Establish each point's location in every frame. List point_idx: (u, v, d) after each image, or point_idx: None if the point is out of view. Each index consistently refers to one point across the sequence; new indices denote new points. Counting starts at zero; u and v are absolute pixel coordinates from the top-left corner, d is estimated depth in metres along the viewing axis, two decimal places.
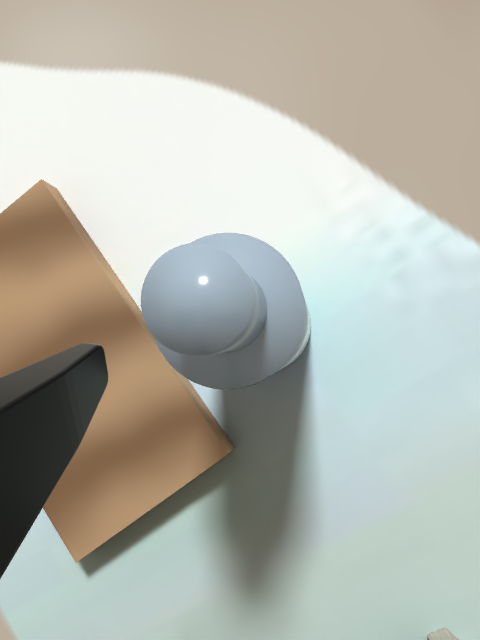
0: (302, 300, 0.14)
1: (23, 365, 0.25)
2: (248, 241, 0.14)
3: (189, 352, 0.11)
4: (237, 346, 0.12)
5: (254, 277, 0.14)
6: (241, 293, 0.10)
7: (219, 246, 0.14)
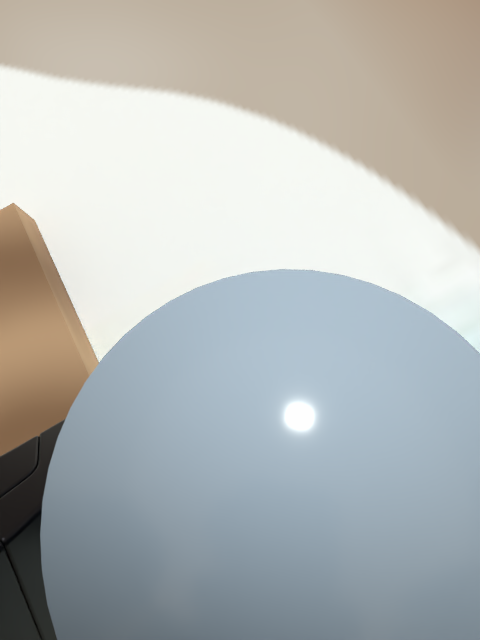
0: None
1: None
2: None
3: None
4: None
5: None
6: None
7: None
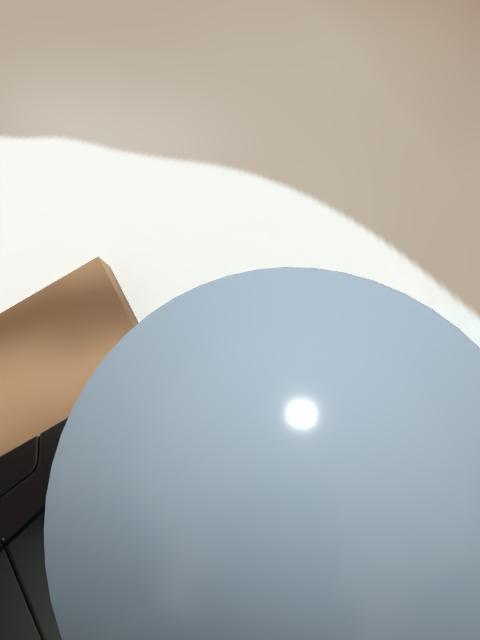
0: None
1: None
2: None
3: None
4: None
5: None
6: None
7: None
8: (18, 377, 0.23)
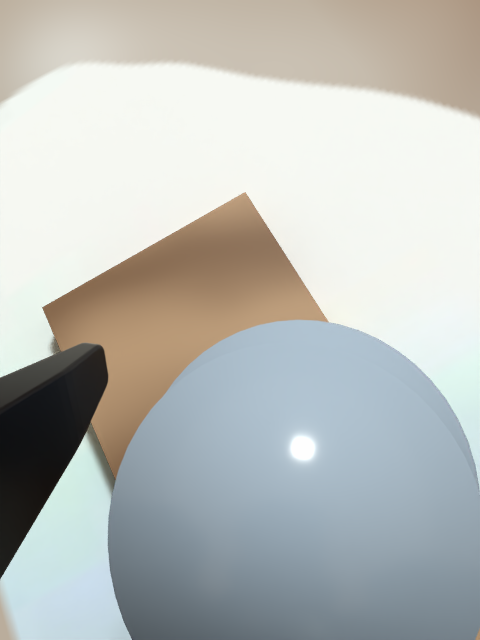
0: None
1: None
2: (362, 343, 0.07)
3: None
4: None
5: None
6: (458, 535, 0.03)
7: None
8: (153, 336, 0.19)
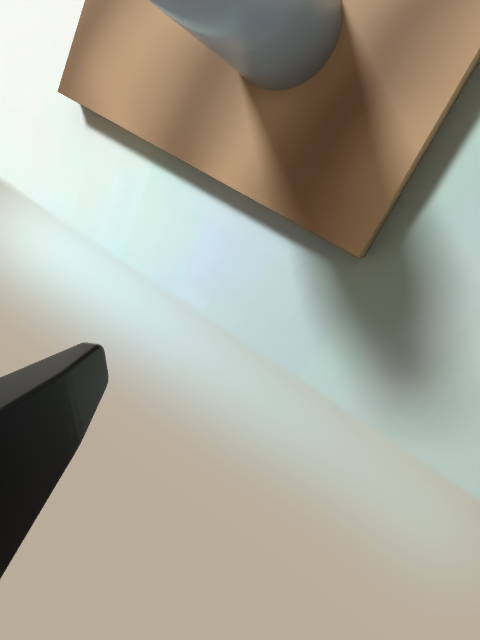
0: None
1: (199, 84, 0.21)
2: None
3: None
4: None
5: None
6: None
7: None
8: (134, 43, 0.22)
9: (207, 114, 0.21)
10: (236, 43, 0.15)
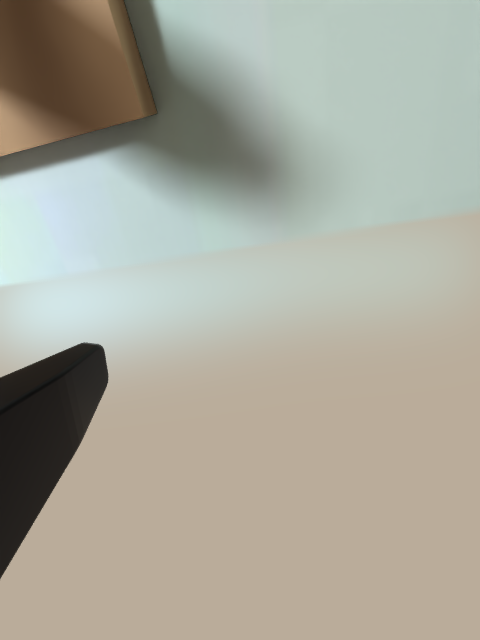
0: None
1: None
2: None
3: None
4: None
5: None
6: None
7: None
8: None
9: None
10: None
